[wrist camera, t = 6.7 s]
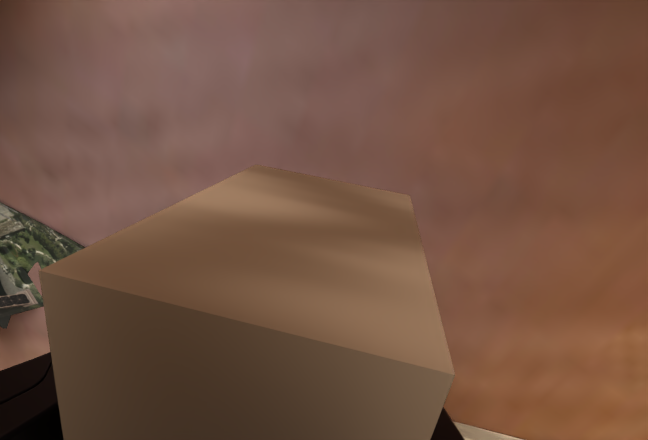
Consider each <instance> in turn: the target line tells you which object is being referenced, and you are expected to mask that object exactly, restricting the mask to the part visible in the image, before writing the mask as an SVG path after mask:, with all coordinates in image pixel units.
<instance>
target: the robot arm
mask: <svg viewBox="0 0 648 440" xmlns="http://www.w3.org/2000/svg"><path fill="white" fill-rule="evenodd" d="M0 440H64V439H63V432H62V425H61V419H60V412H59V405H58V398H57V392H56V385H55V378H54V371H53V364H52V358H51V352H50V353H47V354H44V355H42V356H39V357H37V358H34V359H31V360H29V361H26V362H23V363H21V364H18V365H15V366H12V367H10V368H7V369H4V370H2V371H0ZM430 440H465V439H464V438H463V436H462V435H461V433H460V431H459V430H458V428H457V427H456V425H455V424H454V422H453V421H452V419H451V418H450V416H449V415H448V413H447V412H446V410H445V409H444V407H443V408H442V411H441V413H440V416H439V418H438V421H437V424H436V426H435V429H434V432H433V434H432V437H431V439H430Z"/></svg>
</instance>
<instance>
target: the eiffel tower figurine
mask: <svg viewBox="0 0 648 440" xmlns="http://www.w3.org/2000/svg"><path fill="white" fill-rule="evenodd" d="M82 249H84V247H83V246H81V245H79V244H77V243H76V242H74V241H72V240H70V239H69V238H67V237H65V236H63V235H62V234H60V233H58V232H56V231H54V230H53V229H51V228H49V227H47V226H45V225H43V224H42V223H40V222H38V221H36V220H34V219H32V218H30V217H28V216H26V215H24V214H22V213H20V212H18V211H16V210H14V209H12V208H10V207H8V206H6V205H4V204H2V203H0V326H1V327H2V328H7V326H8V323H9V320H10V316H11V315H13V314H17V313H21V312H24V311H28V310H32V309H35V308H39V307H43V306H44V304H43V298H42V296H41V295H40V293H39V292H38V290H37V289H36V287H35V285H34V284H33V282H32V281H31V279H30V277H29V276H28V274H27V273H28V272H29V271H30V269H31V268H32V267H33V265H34V264H35V263H36V262H38V263H39V265H40V267H41V269H43V268H45V267H47V266H49V265H51V264H53V263H55V262H57V261H59V260H61V259H63V258H65V257H67V256H69V255H71V254H74V253H76V252H78V251H80V250H82Z"/></svg>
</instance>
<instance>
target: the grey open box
mask: <svg viewBox="0 0 648 440" xmlns="http://www.w3.org/2000/svg"><path fill="white" fill-rule="evenodd" d="M453 422H454V421H453ZM454 424H455V425H456V427H457V428H458V430H459V431H460V433H461V435H462V436H463V438H464V439H465V440H523V439H519V438H515V437H511V436H507V435H504V434H500V433H496V432H492V431H488V430H485V429H481V428H477V427H473V426H469V425H465V424H462V423H458V422H454Z"/></svg>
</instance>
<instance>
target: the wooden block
mask: <svg viewBox="0 0 648 440" xmlns="http://www.w3.org/2000/svg"><path fill="white" fill-rule="evenodd" d="M39 277H40V283H41V290H42V297H43V304H44V310H45V317H46V324H47V331H48V337H49V344H50V351H51V358H52V364H53V371H54V378H55V385H56V392H57V398H58V405H59V412H60V419H61V425H62V432H63V439H64V440H430V439H431V437H432V434H433V432H434V429H435V426H436V424H437V421H438V418H439V416H440V413H441V411H442V408H443V405H444V403H445V400H446V397H447V395H448V392H449V390H450V387H451V384H452V382H453V379H454V376H455V373H454V369H453V365H452V361H451V357H450V353H449V349H448V345H447V341H446V337H445V333H444V329H443V325H442V321H441V317H440V313H439V309H438V305H437V301H436V297H435V293H434V289H433V286H432V282H431V278H430V274H429V270H428V266H427V262H426V258H425V254H424V250H423V246H422V242H421V238H420V234H419V230H418V226H417V222H416V218H415V214H414V210H413V206H412V202H411V198H410V195H406V194H401V193H396V192H391V191H386V190H381V189H376V188H371V187H366V186H361V185H356V184H351V183H346V182H341V181H336V180H331V179H326V178H321V177H316V176H311V175H306V174H301V173H296V172H291V171H286V170H281V169H276V168H271V167H266V166H261V165H254V166H252V167H250V168H248V169H246V170H244V171H242V172H240V173H238V174H236V175H233V176H231V177H229V178H227V179H225V180H223V181H221V182H219V183H217V184H215V185H213V186H211V187H209V188H207V189H205V190H203V191H201V192H199V193H197V194H195V195H192V196H190V197H188V198H186V199H184V200H182V201H180V202H178V203H176V204H174V205H172V206H170V207H168V208H166V209H164V210H162V211H160V212H158V213H156V214H154V215H151V216H149V217H147V218H145V219H143V220H141V221H139V222H137V223H135V224H133V225H131V226H129V227H127V228H125V229H123V230H121V231H119V232H117V233H115V234H112V235H110V236H108V237H106V238H104V239H102V240H100V241H98V242H96V243H94V244H92V245H90V246H88V247H86V248H84V249H82V250H80V251H78V252H76V253H74V254H71V255H69V256H67V257H65V258H63V259H61V260H59V261H57V262H55V263H53V264H51V265H49V266H47V267H45V268H43V269H41V270H39Z"/></svg>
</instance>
